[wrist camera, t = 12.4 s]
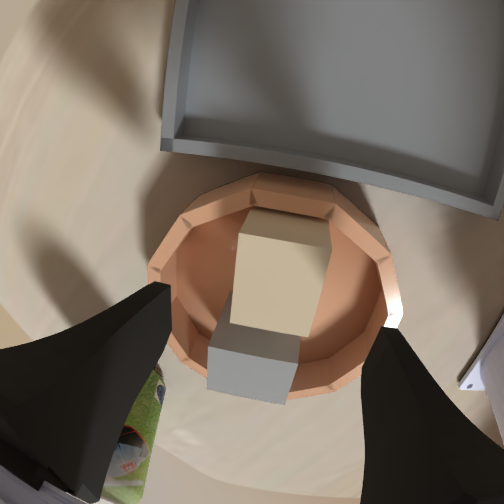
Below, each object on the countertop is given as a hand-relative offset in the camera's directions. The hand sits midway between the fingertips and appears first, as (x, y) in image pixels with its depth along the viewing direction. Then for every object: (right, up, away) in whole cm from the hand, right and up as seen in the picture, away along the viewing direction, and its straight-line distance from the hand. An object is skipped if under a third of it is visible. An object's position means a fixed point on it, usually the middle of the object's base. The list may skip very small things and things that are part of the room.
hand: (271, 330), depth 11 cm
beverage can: (-9, -7, +13) cm, 18 cm away
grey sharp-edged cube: (0, -1, +8) cm, 8 cm away
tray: (+4, +12, +1) cm, 13 cm away
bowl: (+1, +1, +7) cm, 7 cm away
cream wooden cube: (+1, +3, +5) cm, 6 cm away
